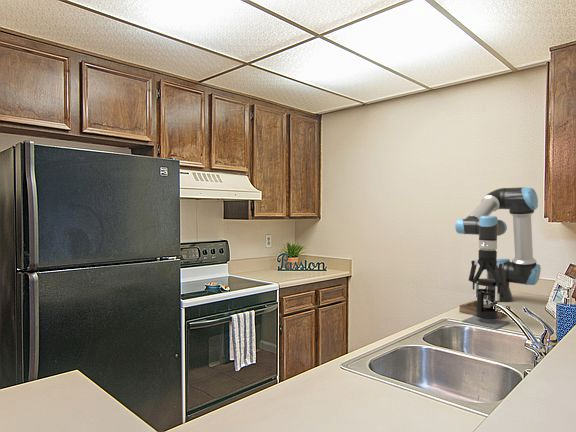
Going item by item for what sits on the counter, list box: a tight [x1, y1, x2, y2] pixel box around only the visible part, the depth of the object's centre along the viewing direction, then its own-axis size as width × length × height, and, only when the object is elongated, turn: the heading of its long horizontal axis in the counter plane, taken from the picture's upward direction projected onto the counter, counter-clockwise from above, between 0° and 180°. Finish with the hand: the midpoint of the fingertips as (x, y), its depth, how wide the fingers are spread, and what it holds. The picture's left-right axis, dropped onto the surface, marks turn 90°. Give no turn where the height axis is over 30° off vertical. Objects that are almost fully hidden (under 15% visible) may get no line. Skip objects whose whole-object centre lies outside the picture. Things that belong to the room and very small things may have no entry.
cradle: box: [459, 299, 511, 319], centre depth 206 cm, size 17×17×4 cm
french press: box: [476, 267, 499, 319], centre depth 188 cm, size 12×9×23 cm
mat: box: [461, 315, 511, 330], centre depth 189 cm, size 15×15×1 cm
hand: (486, 298), depth 188 cm, fingers closed on french press, 9 cm apart
